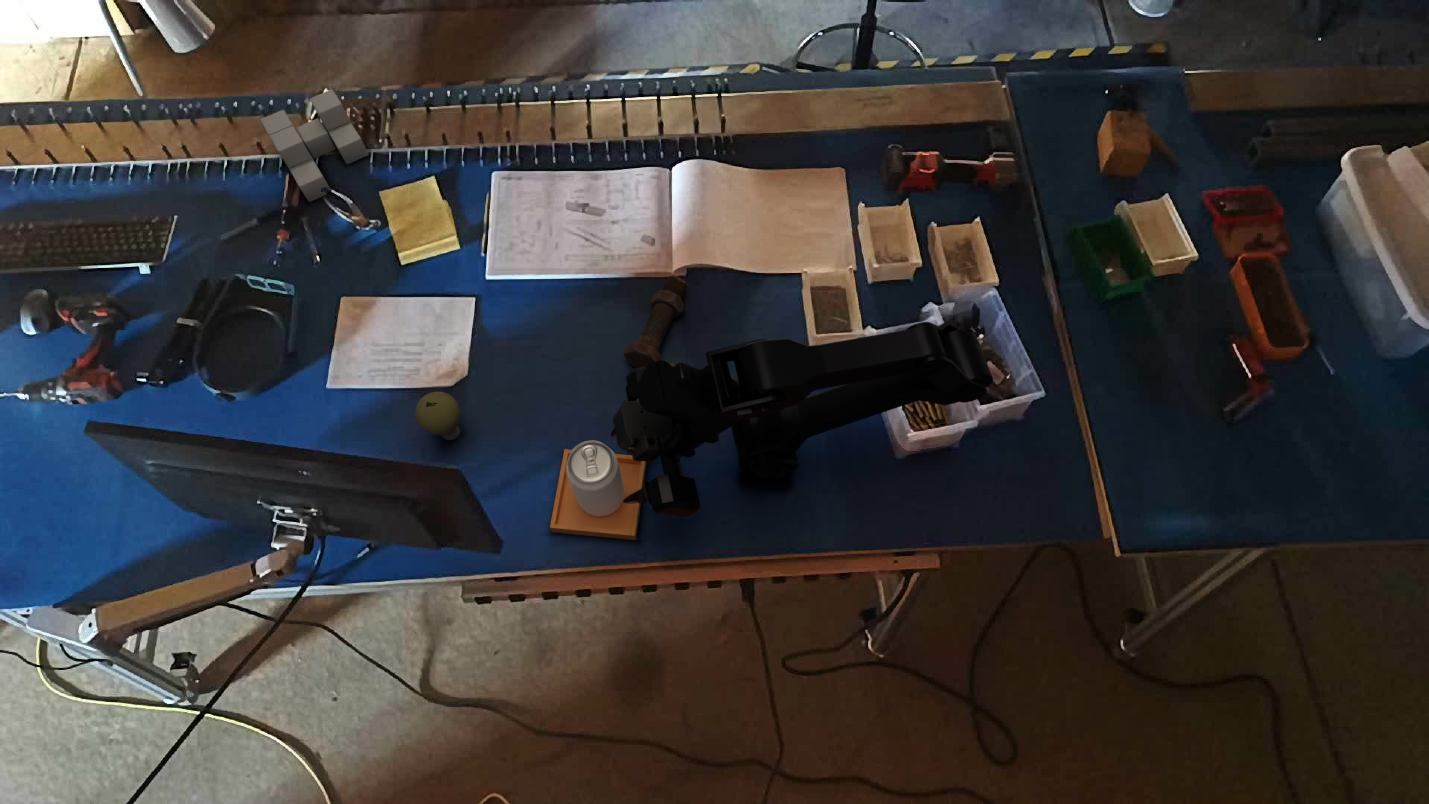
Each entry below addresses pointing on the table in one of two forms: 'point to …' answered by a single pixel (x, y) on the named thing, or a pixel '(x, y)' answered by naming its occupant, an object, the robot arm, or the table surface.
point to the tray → (578, 522)
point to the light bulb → (439, 414)
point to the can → (595, 478)
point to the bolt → (657, 323)
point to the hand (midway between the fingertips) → (619, 468)
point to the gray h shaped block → (314, 141)
